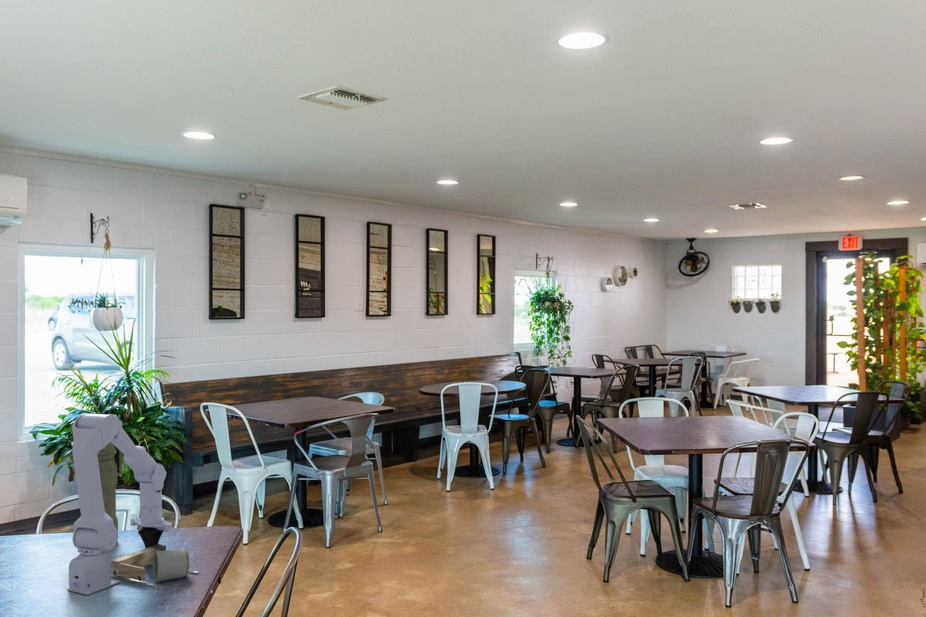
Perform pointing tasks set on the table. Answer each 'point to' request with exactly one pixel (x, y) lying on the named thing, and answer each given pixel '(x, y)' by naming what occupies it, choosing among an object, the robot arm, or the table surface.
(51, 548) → the table surface
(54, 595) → the table surface
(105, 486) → the thermos
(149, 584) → the track
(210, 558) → the table surface
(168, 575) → the ceramic mug
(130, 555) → the tan wooden bracket
